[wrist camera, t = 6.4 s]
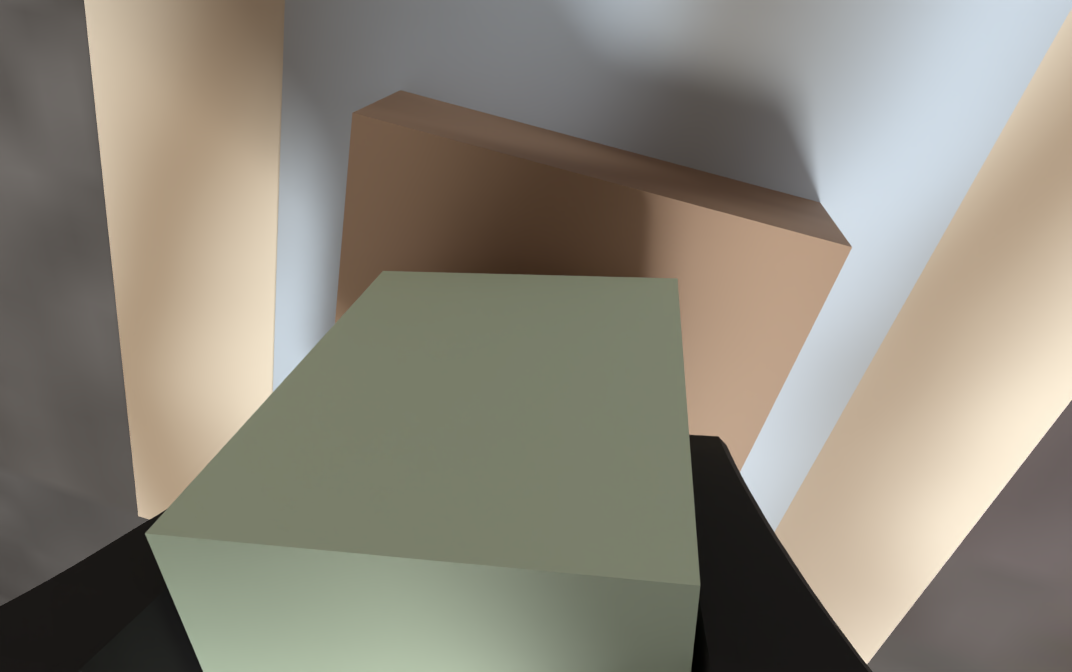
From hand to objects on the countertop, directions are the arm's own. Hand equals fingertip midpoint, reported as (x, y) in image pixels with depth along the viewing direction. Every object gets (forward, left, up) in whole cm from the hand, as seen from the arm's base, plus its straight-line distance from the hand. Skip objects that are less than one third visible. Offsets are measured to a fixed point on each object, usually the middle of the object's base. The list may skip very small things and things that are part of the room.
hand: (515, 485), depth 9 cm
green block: (0, 0, -2) cm, 2 cm away
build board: (0, 0, -5) cm, 5 cm away
